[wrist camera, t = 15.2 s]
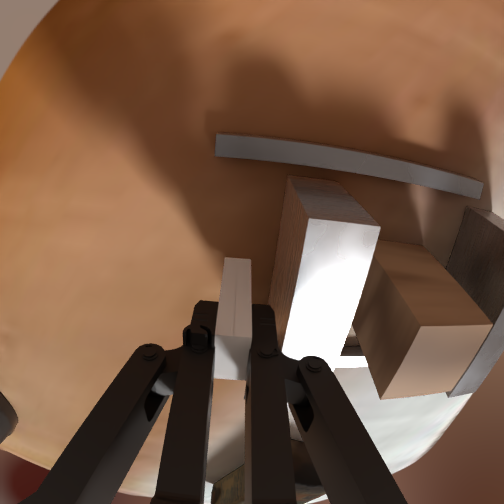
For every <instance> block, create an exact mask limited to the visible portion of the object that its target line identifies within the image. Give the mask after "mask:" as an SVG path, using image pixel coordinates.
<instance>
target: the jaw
mask: <svg viewBox="0 0 504 504" xmlns="http://www.w3.org/2000/svg"><path fill="white" fill-rule="evenodd" d="M380 228H381V227H380V225H379V224H378V223H377V222H376V221H375V220H374V219H373V218H372V217H371V216H370V215H369V214H368V213H367V211H366V210H365V209H364V208H363V207H362V206H361V205H360V204H359V203H358V202H357V201H356V200H355V199H354V198H353V197H352V196H351V195H350V194H349V193H348V192H347V191H346V190H345V189H344V188H343V187H342V186H341V185H340V184H339V183H338V182H337V181H332V180H325V179H317V178H310V177H302V176H294V175H287V181H286V188H285V195H284V202H283V209H282V216H281V223H280V230H279V236H278V243H277V250H276V256H275V263H274V269H273V275H272V282H271V288H270V294H269V301H268V305H270V306H271V308H272V309H273V310H274V312H275V321H276V330H277V340H278V347H279V349H280V350H281V352H282V353H283V354H284V355H286V356H288V357H290V358H293V359H297V360H301V359H302V358H303V357H305V356H308V355H315V356H319V357H321V358H323V359H325V360H326V362H327V363H328V364H329V366H330V368H331V369H332V371H333V370H334V368H335V365H336V363H337V360H338V358H339V355H340V352H341V350H342V347H343V344H344V342H345V339H346V336H347V334H348V331H349V328H350V325H351V322H352V320H353V317H354V314H355V311H356V308H357V305H358V302H359V299H360V296H361V293H362V290H363V287H364V283H365V280H366V277H367V274H368V270H369V267H370V264H371V260H372V257H373V253H374V250H375V246H376V243H377V239H378V235H379V232H380ZM287 407H288V412H291V411H290V408H289V406H288V403H287Z"/></svg>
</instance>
